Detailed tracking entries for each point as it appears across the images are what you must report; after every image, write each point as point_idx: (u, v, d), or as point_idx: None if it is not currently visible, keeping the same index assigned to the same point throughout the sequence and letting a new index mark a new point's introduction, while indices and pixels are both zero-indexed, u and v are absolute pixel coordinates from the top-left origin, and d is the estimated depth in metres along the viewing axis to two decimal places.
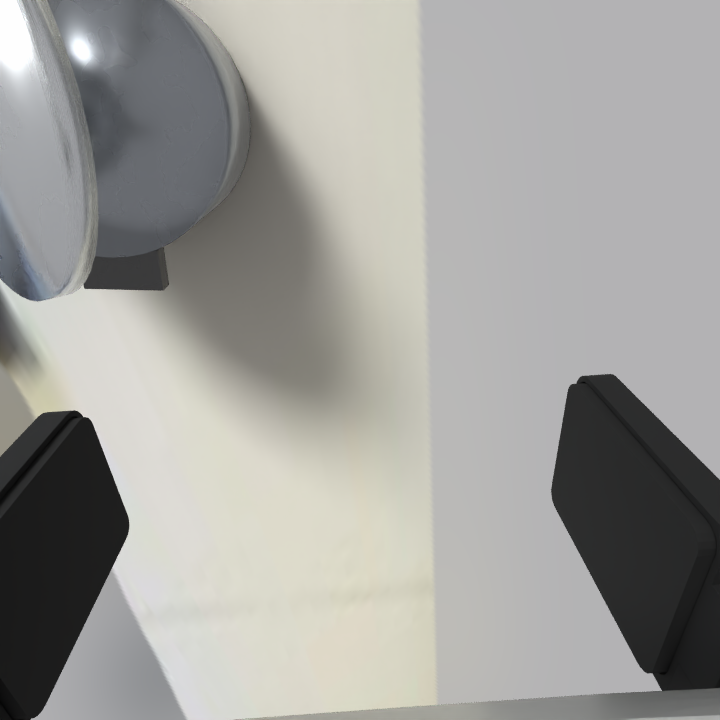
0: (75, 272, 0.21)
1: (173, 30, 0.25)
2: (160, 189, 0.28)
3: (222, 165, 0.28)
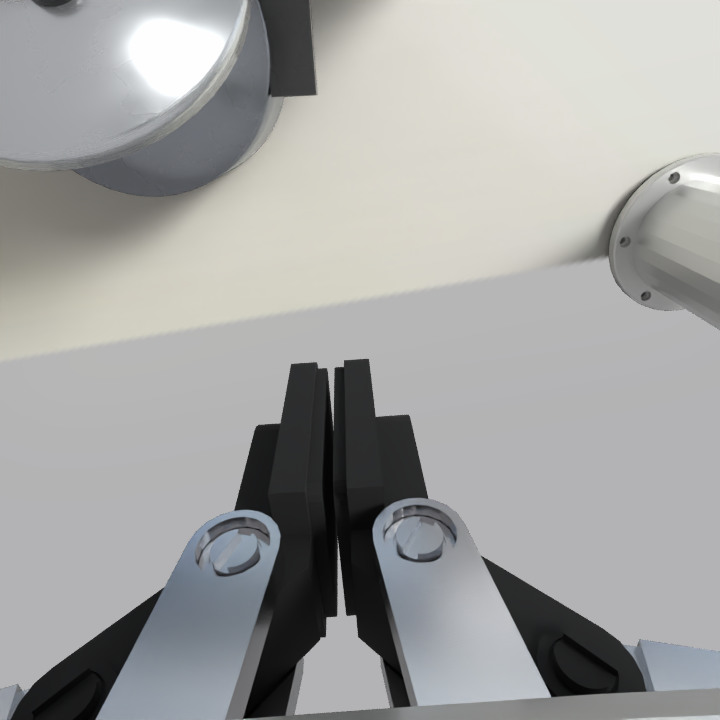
0: None
1: (223, 154, 0.29)
2: None
3: (126, 192, 0.30)
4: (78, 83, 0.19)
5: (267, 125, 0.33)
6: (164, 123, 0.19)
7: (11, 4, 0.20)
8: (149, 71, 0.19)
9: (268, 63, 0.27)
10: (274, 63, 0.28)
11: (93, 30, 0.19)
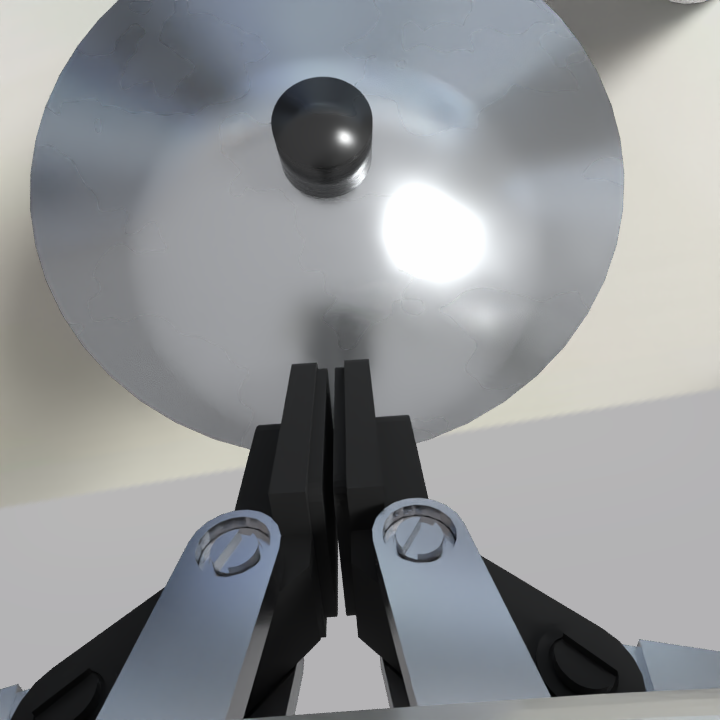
0: None
1: None
2: None
3: None
4: (391, 332, 0.12)
5: None
6: None
7: (264, 194, 0.13)
8: (501, 310, 0.12)
9: None
10: None
11: (400, 238, 0.12)
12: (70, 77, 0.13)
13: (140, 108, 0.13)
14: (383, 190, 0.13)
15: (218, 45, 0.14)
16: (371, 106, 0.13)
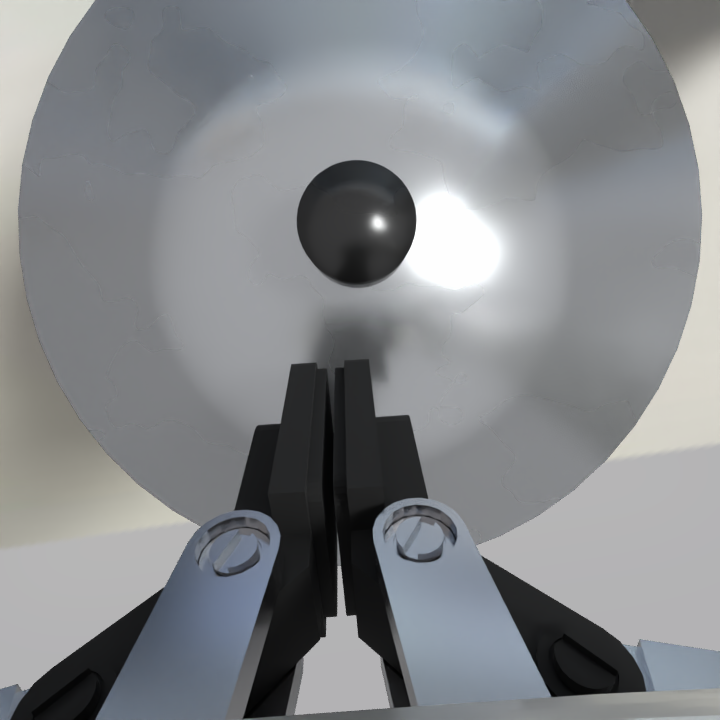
0: None
1: None
2: None
3: None
4: (426, 442, 0.11)
5: None
6: None
7: (287, 282, 0.11)
8: (544, 421, 0.11)
9: None
10: None
11: (439, 337, 0.11)
12: (46, 122, 0.11)
13: (135, 168, 0.11)
14: (422, 279, 0.11)
15: (223, 78, 0.11)
16: (411, 168, 0.11)
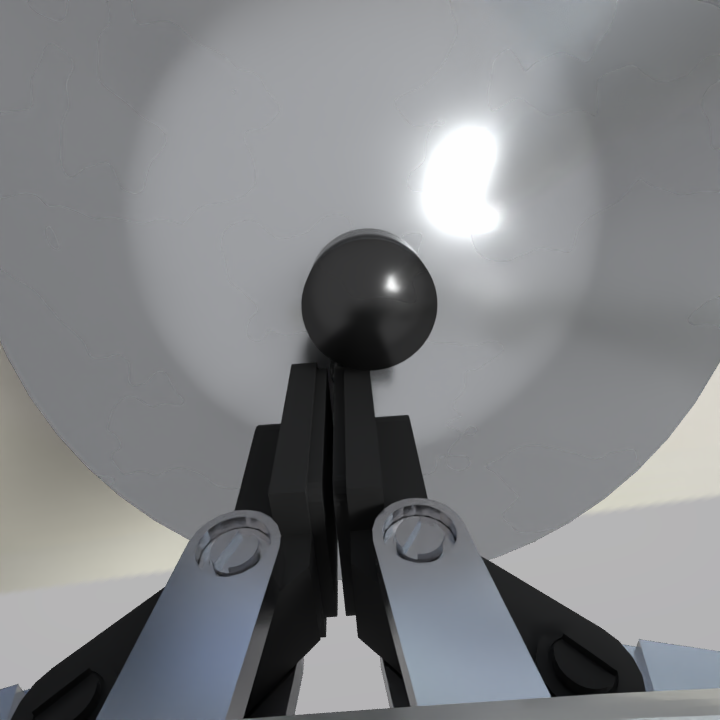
0: None
1: None
2: None
3: None
4: (433, 485, 0.12)
5: None
6: None
7: (291, 338, 0.10)
8: (549, 467, 0.12)
9: None
10: None
11: (452, 393, 0.11)
12: None
13: (103, 210, 0.09)
14: (438, 336, 0.10)
15: (198, 95, 0.09)
16: (431, 213, 0.09)
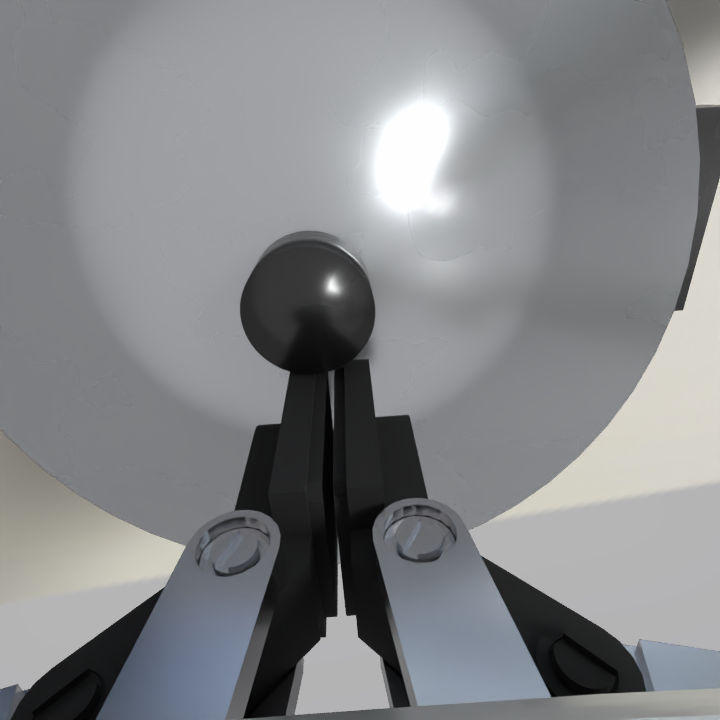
0: None
1: None
2: None
3: None
4: None
5: None
6: None
7: (237, 340, 0.10)
8: (496, 455, 0.12)
9: None
10: None
11: (400, 388, 0.11)
12: None
13: (36, 216, 0.09)
14: (383, 334, 0.10)
15: (124, 97, 0.08)
16: (371, 214, 0.09)
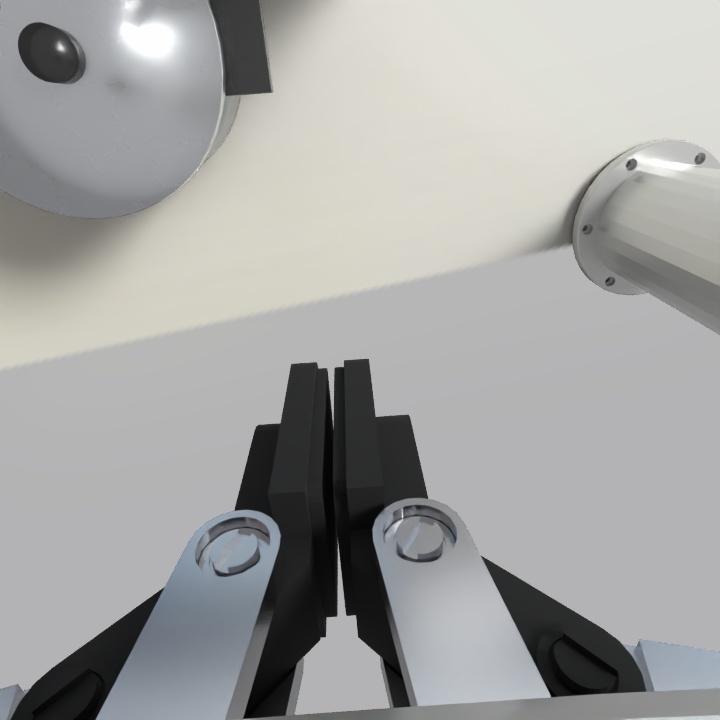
0: None
1: None
2: None
3: None
4: (116, 160, 0.26)
5: (224, 124, 0.32)
6: (184, 183, 0.28)
7: (32, 81, 0.25)
8: (166, 148, 0.26)
9: None
10: (226, 61, 0.27)
11: (110, 109, 0.25)
12: None
13: None
14: (96, 79, 0.25)
15: None
16: (77, 20, 0.24)
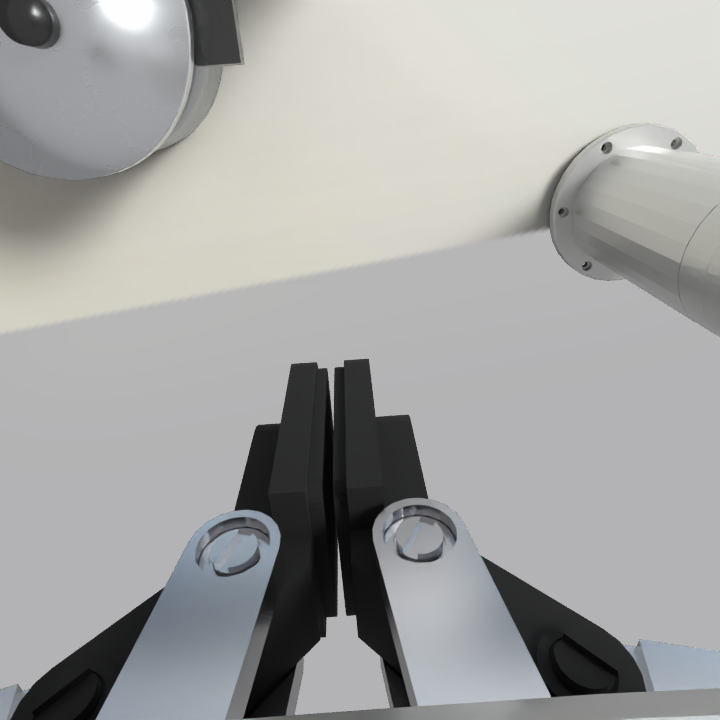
0: None
1: None
2: None
3: None
4: (89, 123, 0.28)
5: (201, 97, 0.33)
6: (155, 148, 0.29)
7: (11, 46, 0.26)
8: (136, 113, 0.28)
9: None
10: (197, 31, 0.28)
11: (84, 73, 0.27)
12: None
13: None
14: (70, 44, 0.26)
15: None
16: None
